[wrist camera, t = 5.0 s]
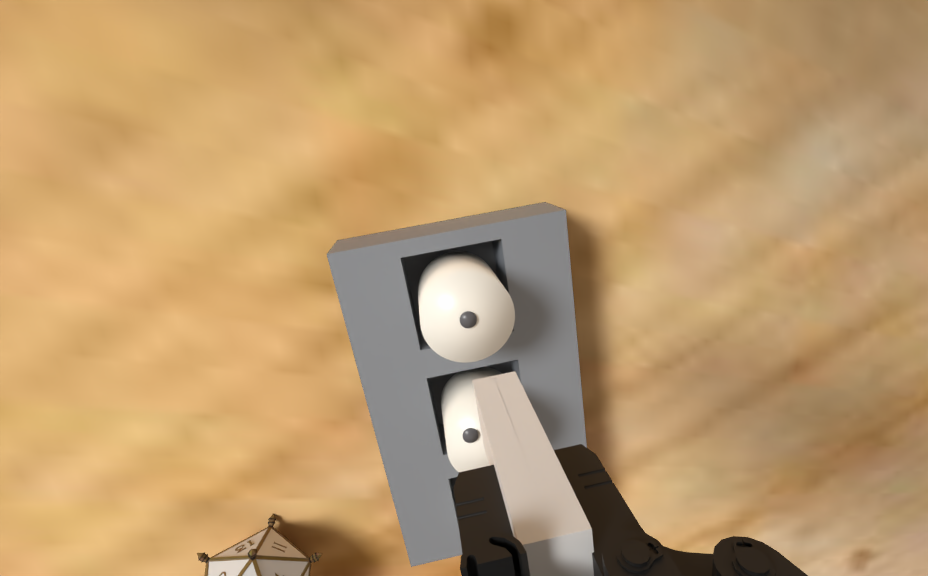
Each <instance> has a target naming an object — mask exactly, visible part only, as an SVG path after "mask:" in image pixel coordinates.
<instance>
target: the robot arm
mask: <svg viewBox="0 0 928 576" xmlns="http://www.w3.org/2000/svg"><path fill="white" fill-rule="evenodd" d="M472 381H473V387H474V393H475V398H476V404H477V410H478V415H479V421H480V427H481V432H482V438H483V444H484V448H485V452H486V456H487V460H488V464H489V466H485V467H481V468H477V469H472V470H468V471H463V472H459V473H458V476H457V479H456V482H455V485H454V487H453V489H454V496H455V503H456V510H457V517H458V525H459V532H460V540H461V547H462V556H461V565H460V570H461V574H462V576H808V575H806V574H805V573H804V572H803V571H801V570H800V569H799V568H798V567H796V566H795V565H794V564H793V563H791V562H790V561H789V560H787V559H786V558H785V557H784V556H782V555H781V554H780V553H779V552H777V551H776V550H774V549H773V548H771V547H769V546H768V545H766V544H765V543H763V542H760V541H757V540H754V539H751V538H748V537H735V536H733V537H729V538H726V539H722V540H721V541H720V542H719V543H718V544H717V545H716V546H715V548H714V553H713V554H703V553H689V552H681V551H676V550H672V549H670V548H667V547H664V546H662V545H661V543H660V542H659V541H658V540H656V539H655V538H653V537H651V536H649V535H648V534H646V533H645V532H644V530H643V529H642V528H641V527H640V525H639V523H638V522H637V520H636V519H635V517H634V515H633V514H632V512H631V510H630V509H629V507H628V506H627V504H626V502H625V501H624V499H623V498H622V496H621V494H620V493H619V491H618V489H617V488H616V486H615V485H614V483H612V480H611V478H610V477H609V475H608V473H607V472H605V468H604V467H603V465H602V464H601V462H600V460H599V459H598V457H597V456H596V454H594V453H593V452H592V451H590V450H589V449H588V448H586V447H585V446H583V445H582V444H579V445H574V446H570V447H565V448H561V449H556V450H553V448H552V446H551V444H550V442H549V440H548V438H547V436H546V433H545V431H544V429H543V427H542V425H541V423H540V421H539V419H538V417H537V415H536V413H535V411H534V409H533V407H532V405H531V403H530V401H529V399H528V397H527V395H526V392H525V390H524V388H523V386H522V384H521V382H520V380H519V378H518V376H517V374H516V372H515V371H514V372H509V373H504V374H500V375H495V376H490V377H485V378H480V379H476V380H472Z"/></svg>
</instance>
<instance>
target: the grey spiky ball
mask: <svg viewBox="0 0 928 576" xmlns="http://www.w3.org/2000/svg"><path fill="white" fill-rule="evenodd" d="M268 520H269V522H268V525H269V526H268V527H267V528H265V529H264V530H262V531H260V532H258V533H256V534H254V535H252V536H250V537H249V538H247V539H245V540H243V541H241V542H239V543H237V544H235V545H233V546H232V547H230V548H228V549H226V550H224V551H222V552H220V553H218V554H217V555H215V556H213V557H211V558H209V557H208V556H207V555H208V554H207V555H206V554H205V552H204V553H197V555H198V558H199V560H200V561H202V562H206V568H205V576H310V569H311V563H312V562H316V561H318V560H319V558H320V556H321V554H322V553H315V554H314V555H312V556H311V557H310V558H309V557H308V556H307V555H306V554H305V553H303V552H302V551H301V550H300V549H299V548H297V547H296V546H295V545H294V544H293V543H291V542H290V541H289V540H288V539H287V538H285V537H284V536H283V535H282V534H281V533H279V532H278V531H277V530H276V529H274V528H273V525H274V523H275V520H276V519H275V516H274V514H273V515H272V516H271V517H270V518H269V519H268ZM199 560H198V561H199Z"/></svg>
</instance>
